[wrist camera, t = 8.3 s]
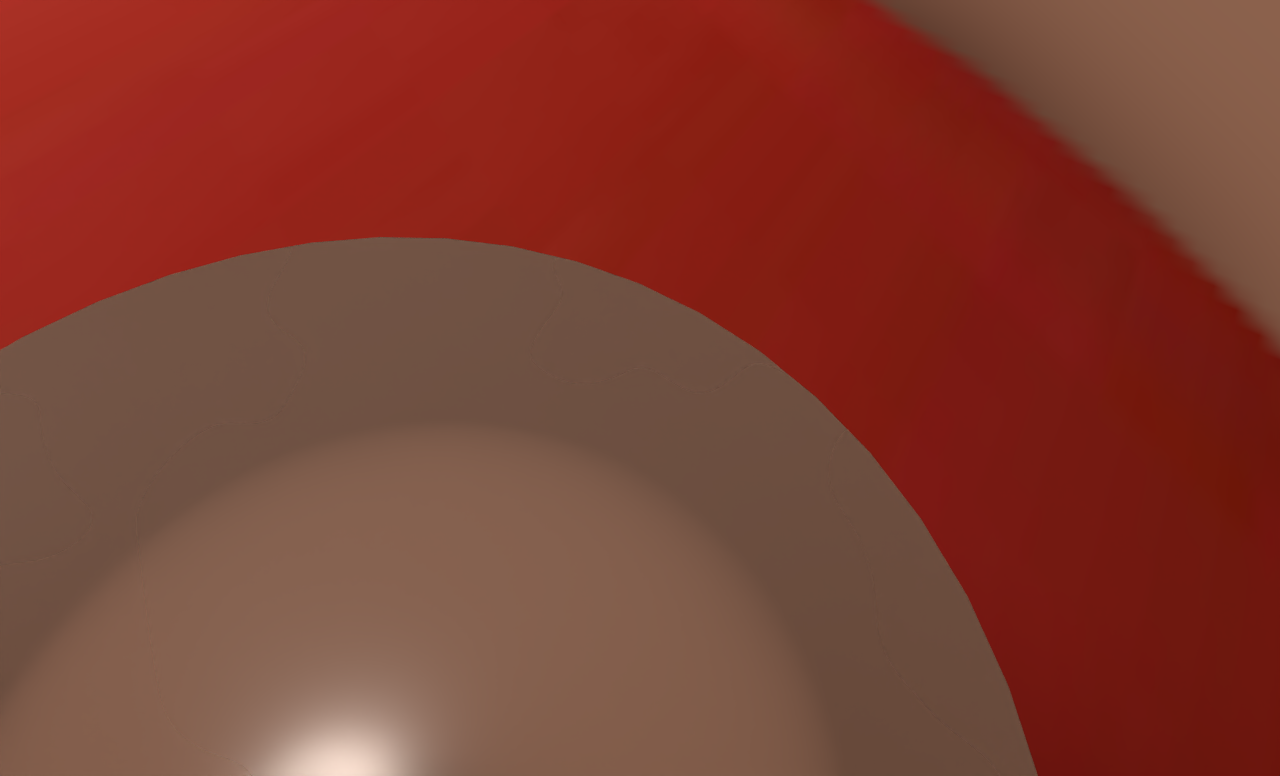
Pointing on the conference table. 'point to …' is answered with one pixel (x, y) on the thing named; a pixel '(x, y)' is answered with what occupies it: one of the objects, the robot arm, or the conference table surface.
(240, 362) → the steel flask
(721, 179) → the conference table surface
